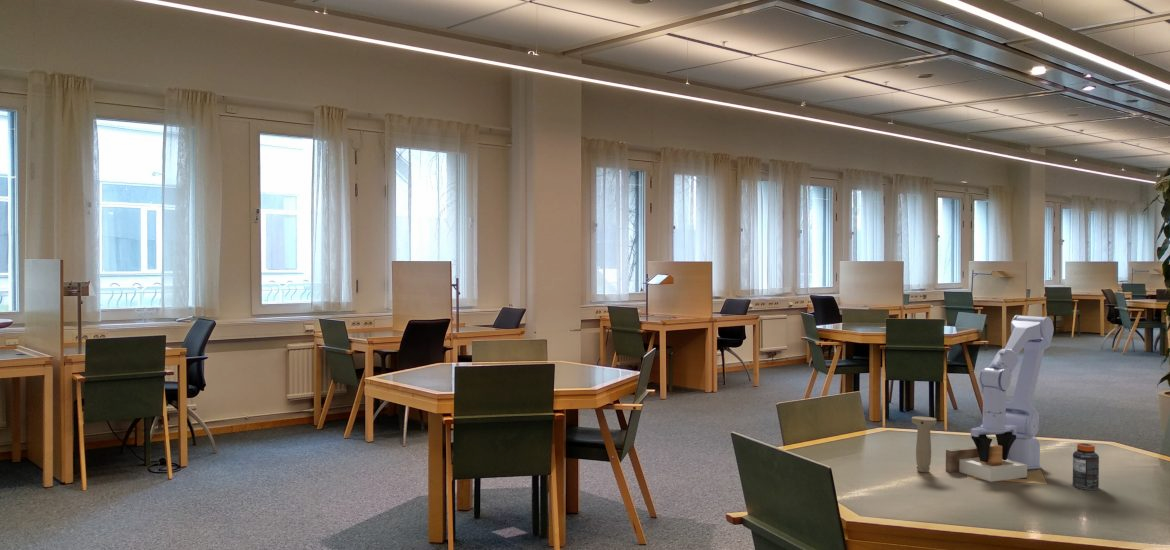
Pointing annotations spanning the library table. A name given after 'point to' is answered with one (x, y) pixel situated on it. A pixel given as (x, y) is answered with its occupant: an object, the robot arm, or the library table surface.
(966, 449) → the wall
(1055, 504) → the library table surface
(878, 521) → the library table surface
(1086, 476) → the pill bottle
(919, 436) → the handle
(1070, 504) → the library table surface
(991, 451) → the dowel
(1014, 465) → the socket block
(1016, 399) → the robot arm
